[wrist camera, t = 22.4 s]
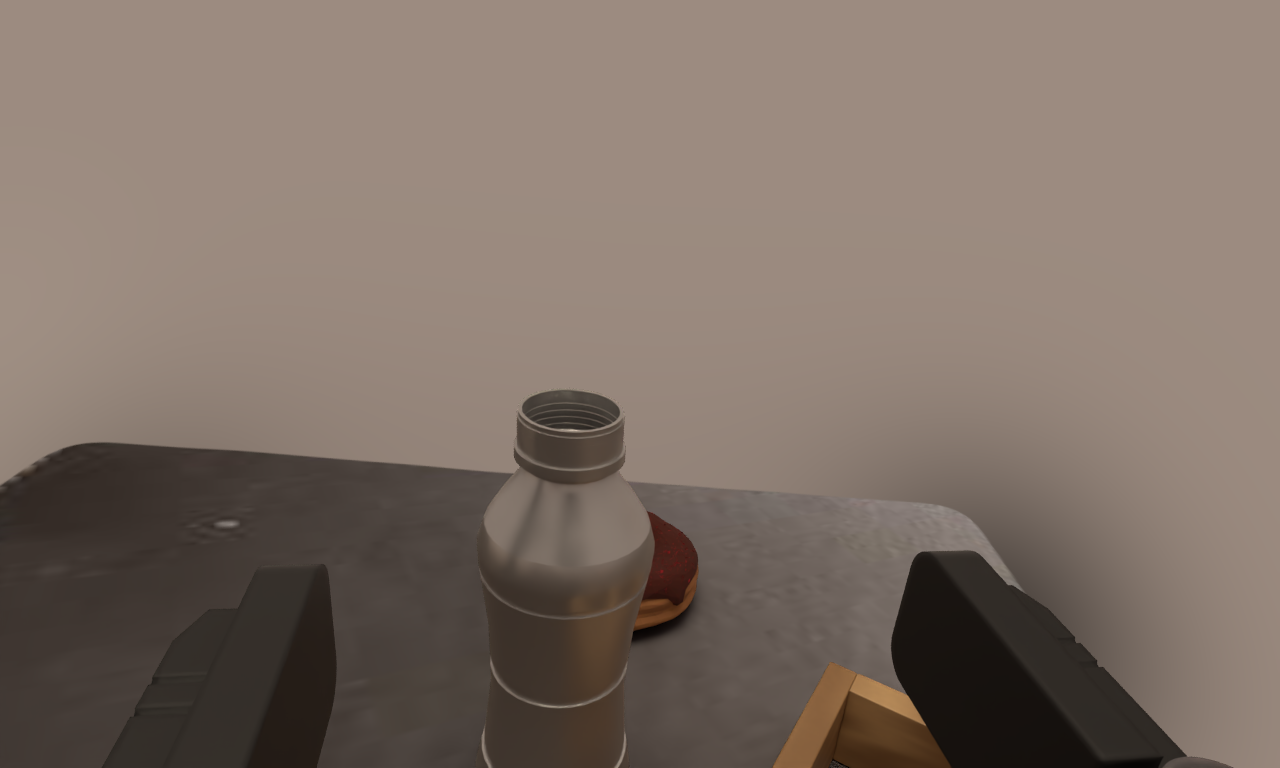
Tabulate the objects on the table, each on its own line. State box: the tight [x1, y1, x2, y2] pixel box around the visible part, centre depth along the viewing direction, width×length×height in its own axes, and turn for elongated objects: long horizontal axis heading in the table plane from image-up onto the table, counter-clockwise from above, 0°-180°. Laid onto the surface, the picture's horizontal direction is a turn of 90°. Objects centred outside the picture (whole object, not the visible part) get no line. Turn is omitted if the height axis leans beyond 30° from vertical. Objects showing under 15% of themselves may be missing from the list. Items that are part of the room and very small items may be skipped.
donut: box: [633, 511, 698, 631], centre depth 48 cm, size 10×10×4 cm
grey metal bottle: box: [475, 389, 655, 768], centre depth 31 cm, size 6×7×20 cm
